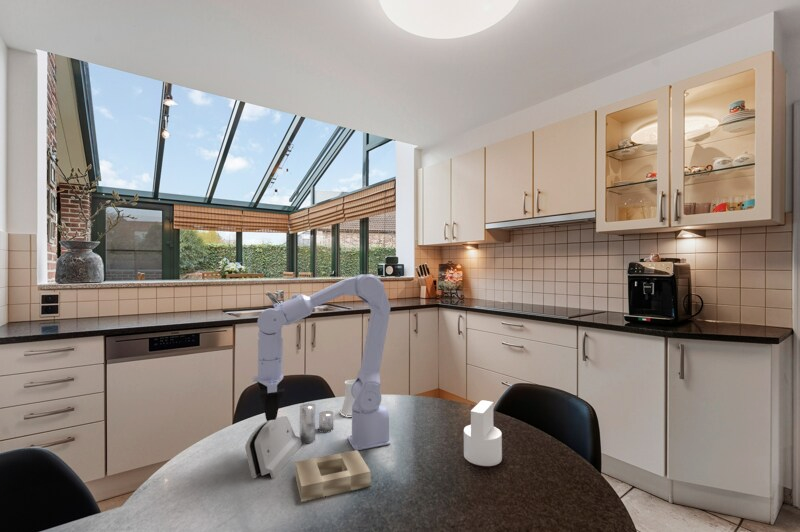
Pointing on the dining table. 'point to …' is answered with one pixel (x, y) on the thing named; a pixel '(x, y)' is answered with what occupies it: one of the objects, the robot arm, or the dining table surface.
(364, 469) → the hole plate
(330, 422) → the short pin
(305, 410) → the tall pin
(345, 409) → the vase
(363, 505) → the dining table surface
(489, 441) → the base with upright slab
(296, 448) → the white slotted housing
